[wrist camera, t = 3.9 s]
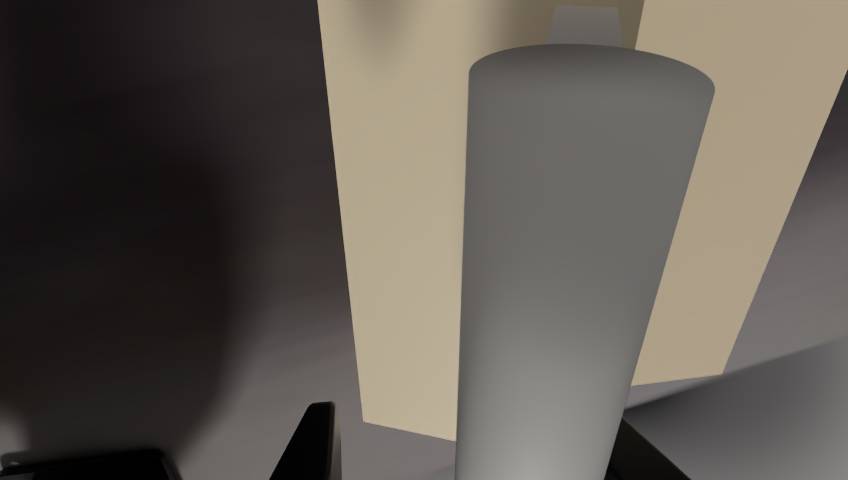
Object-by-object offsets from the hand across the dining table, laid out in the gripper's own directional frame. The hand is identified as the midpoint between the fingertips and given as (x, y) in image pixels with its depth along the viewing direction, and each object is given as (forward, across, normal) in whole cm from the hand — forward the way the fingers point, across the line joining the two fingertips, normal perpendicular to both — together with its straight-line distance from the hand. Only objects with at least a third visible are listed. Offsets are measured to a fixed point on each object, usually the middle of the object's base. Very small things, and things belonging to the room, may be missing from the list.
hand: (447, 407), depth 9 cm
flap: (+5, -1, 0) cm, 5 cm away
